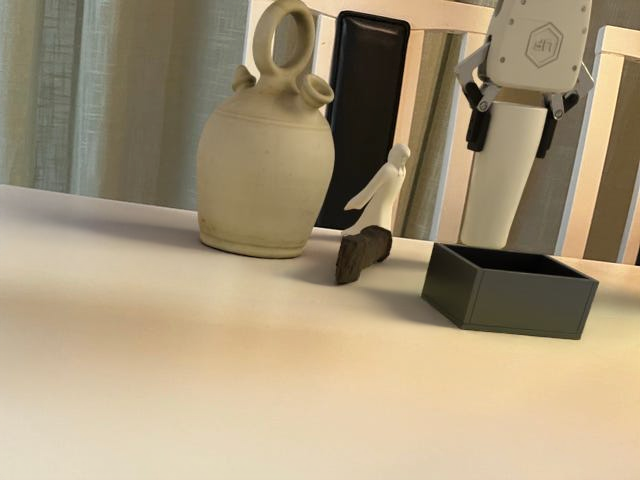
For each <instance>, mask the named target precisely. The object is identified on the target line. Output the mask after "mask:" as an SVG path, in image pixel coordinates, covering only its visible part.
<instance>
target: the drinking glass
mask: <svg viewBox="0 0 640 480" xmlns="http://www.w3.org/2000/svg"><path fill="white" fill-rule="evenodd" d="M547 111H548V109H547V108H543V107H542V106H537V105H530V104H523V103H515V102H508V101H507V102H506V101H498V100H493V102H492V103H491V105H490V106H489V109H488V112H489V113H490V114H491V118H490V122H489V126H488V131H487V135H486V139H485V143H484V147H483V150H482V151H481V152H474V159H473V166H472V170H471V171H472V172H471V178H470V185H469V189H468V197H467V202H466V208H465V214H464V219H463V225H462V229H461V233H460V242H461V243H462V244H463V245H467V246H477V247H487V248H496V249H504V247H505V246H506V245H507V241H508V238H509V236H510V235H509V234H510V231H511V228H512V225H513V221H514V219H515V216H516V213H517V211H518V207H519V205H520V203H521V198H522V196H523V193H524V191H525V187H526V184H527V182H528V179H529V175H530V173H531V170H532V167H533V164H534V161H535V160H536V157H535V156H536V153H537V150H538V147H539V143H540V140H541V136H542V132H543V128H544V124H545V120H546V115H547Z"/></svg>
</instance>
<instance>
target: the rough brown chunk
mask: <svg viewBox="0 0 640 480" xmlns="http://www.w3.org/2000/svg"><path fill="white" fill-rule="evenodd" d="M392 247H393V234H392V231H390V230H387V229H385V228H383V227H380V226H378V225H371V226H367V227H365V228H363V229H362V230H361V231H360V233H359V234H356V235H347V236H346V235H344V236H342V238H341V241H340V245H339V247H338V253H337V257H336V262H335V271H334V278H335V279H334V280H335V282H336V283H338V284H346V283H351V282H354V281H359V279H360V276H361V273H362V271H364V270H366V269H367V268H370V266H371V265H372V264H374V263H375V262H378V263H383V262H384V261H385V260H387V258H389V256H391V251H392Z"/></svg>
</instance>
